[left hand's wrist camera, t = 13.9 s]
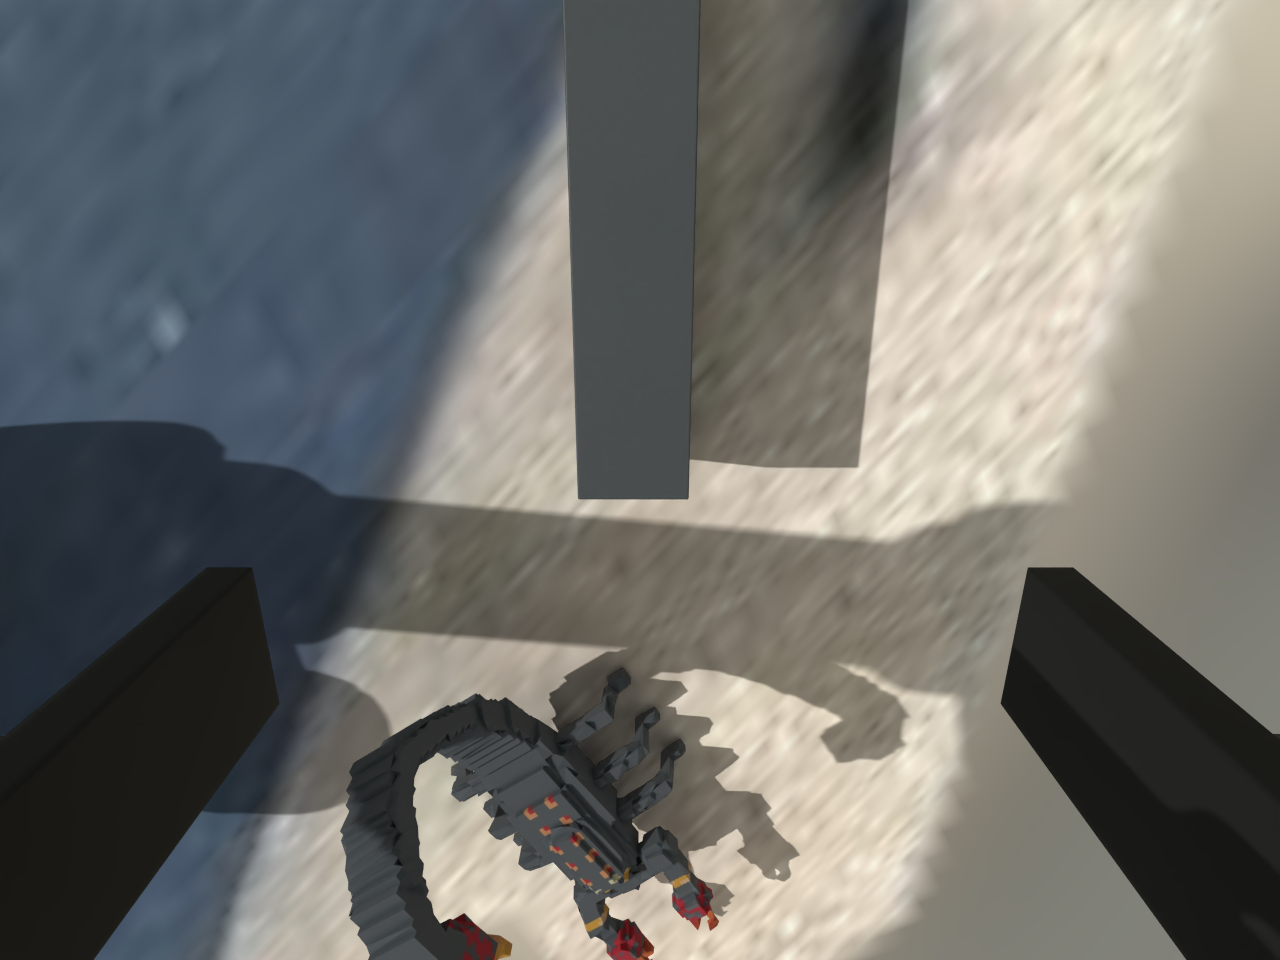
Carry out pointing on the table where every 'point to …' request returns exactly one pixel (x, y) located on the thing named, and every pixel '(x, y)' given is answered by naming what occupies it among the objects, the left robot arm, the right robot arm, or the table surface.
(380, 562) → the table surface
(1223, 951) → the left robot arm
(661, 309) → the post
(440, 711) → the toy
